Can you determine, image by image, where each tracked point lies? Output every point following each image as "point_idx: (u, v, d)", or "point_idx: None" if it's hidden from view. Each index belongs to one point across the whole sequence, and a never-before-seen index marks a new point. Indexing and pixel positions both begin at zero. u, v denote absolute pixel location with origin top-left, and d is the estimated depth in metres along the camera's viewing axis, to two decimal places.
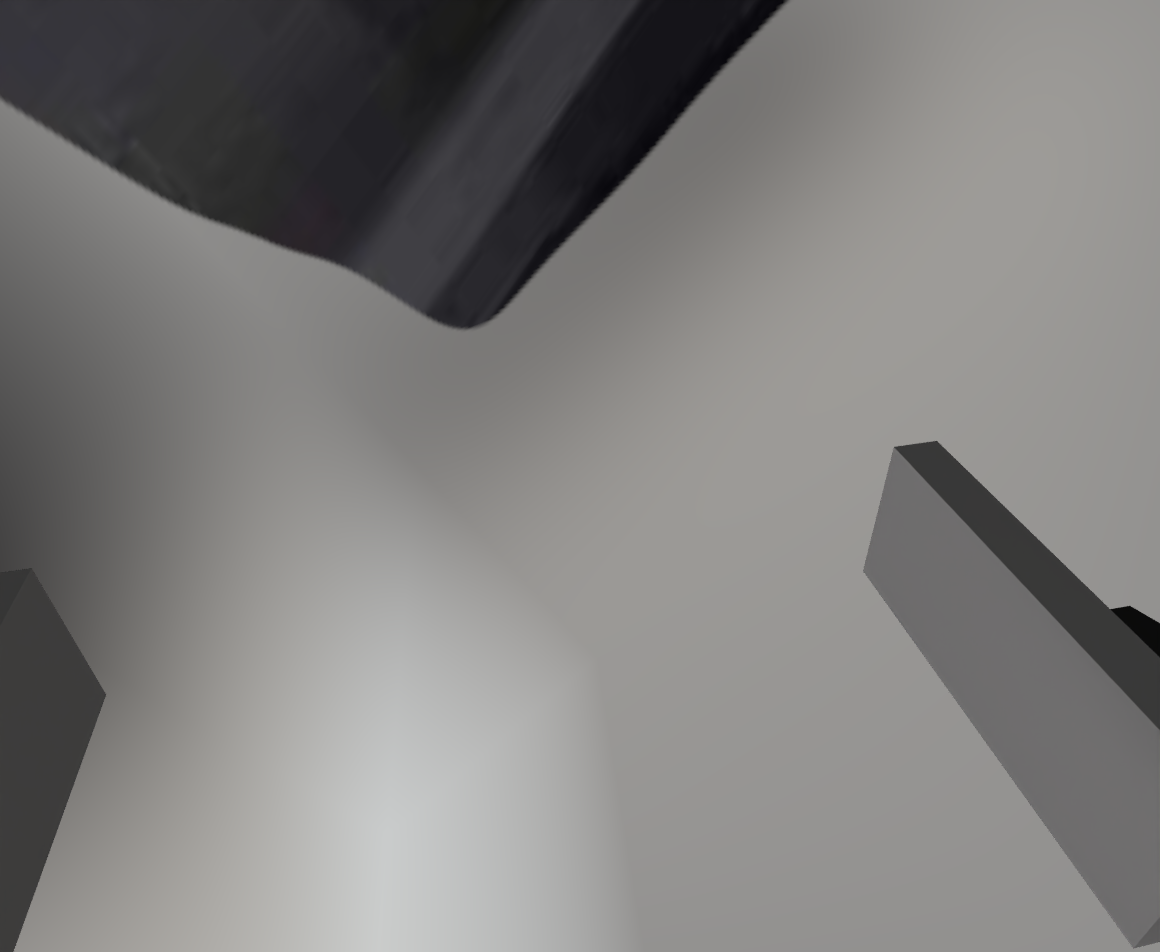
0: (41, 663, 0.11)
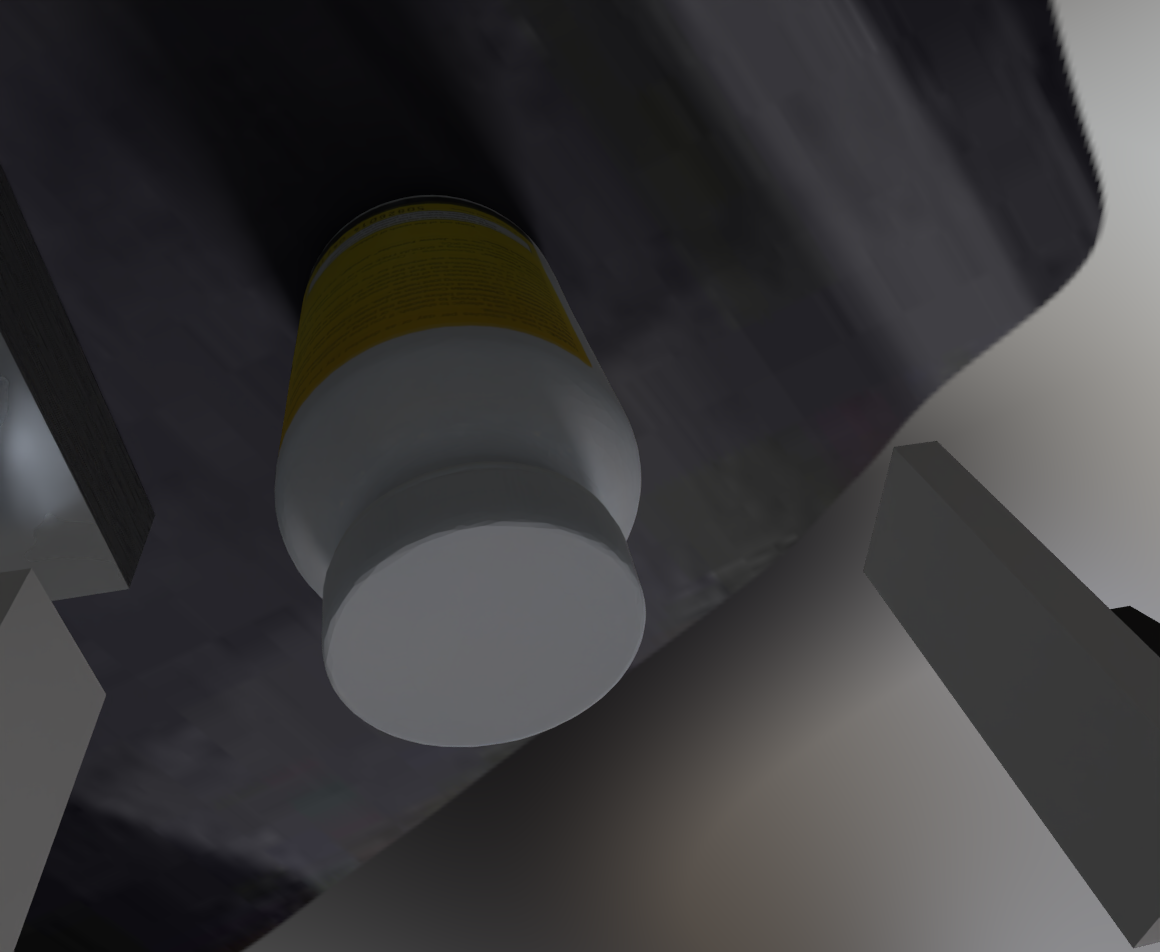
0: (41, 663, 0.11)
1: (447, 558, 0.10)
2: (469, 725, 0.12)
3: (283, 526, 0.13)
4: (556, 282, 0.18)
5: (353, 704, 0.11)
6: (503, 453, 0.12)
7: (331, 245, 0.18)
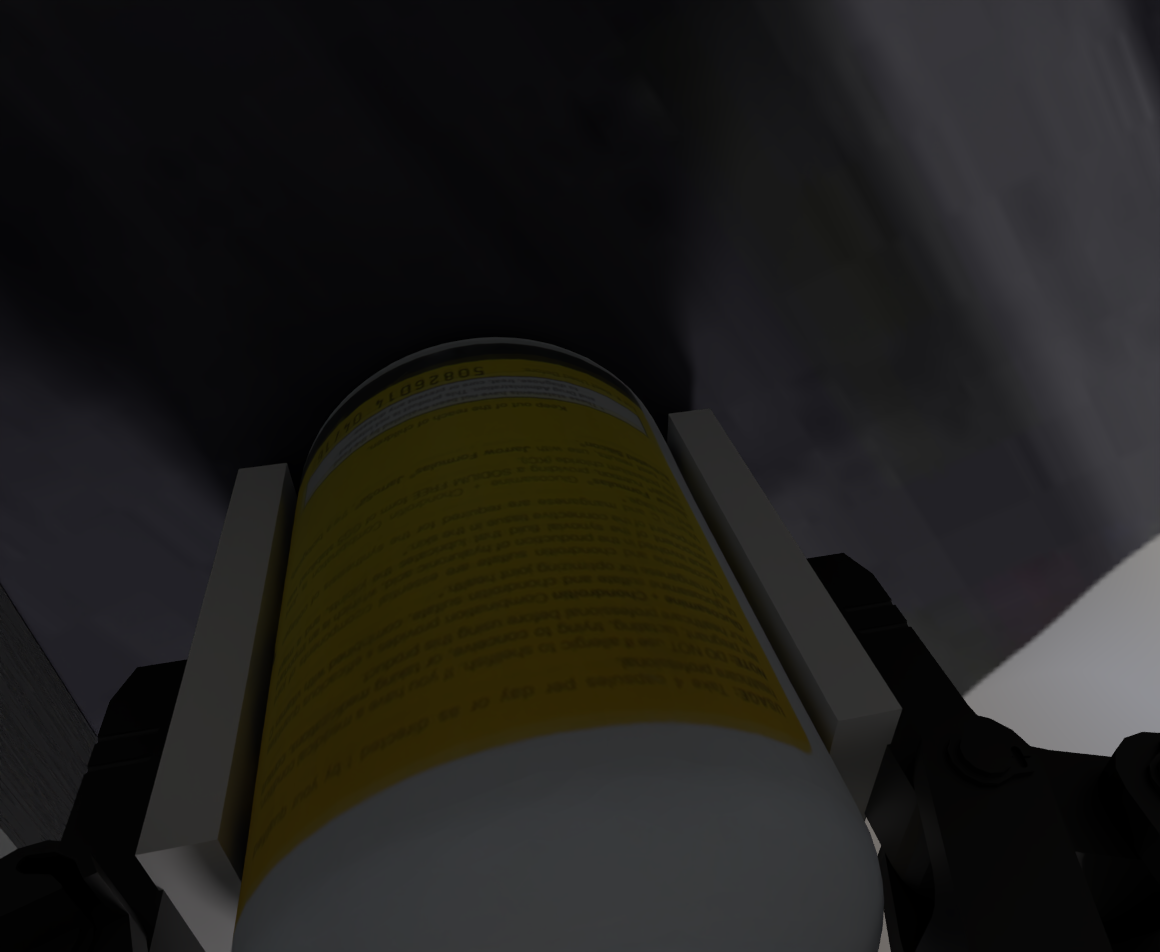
0: None
1: None
2: None
3: None
4: (680, 473, 0.12)
5: None
6: None
7: (341, 420, 0.12)
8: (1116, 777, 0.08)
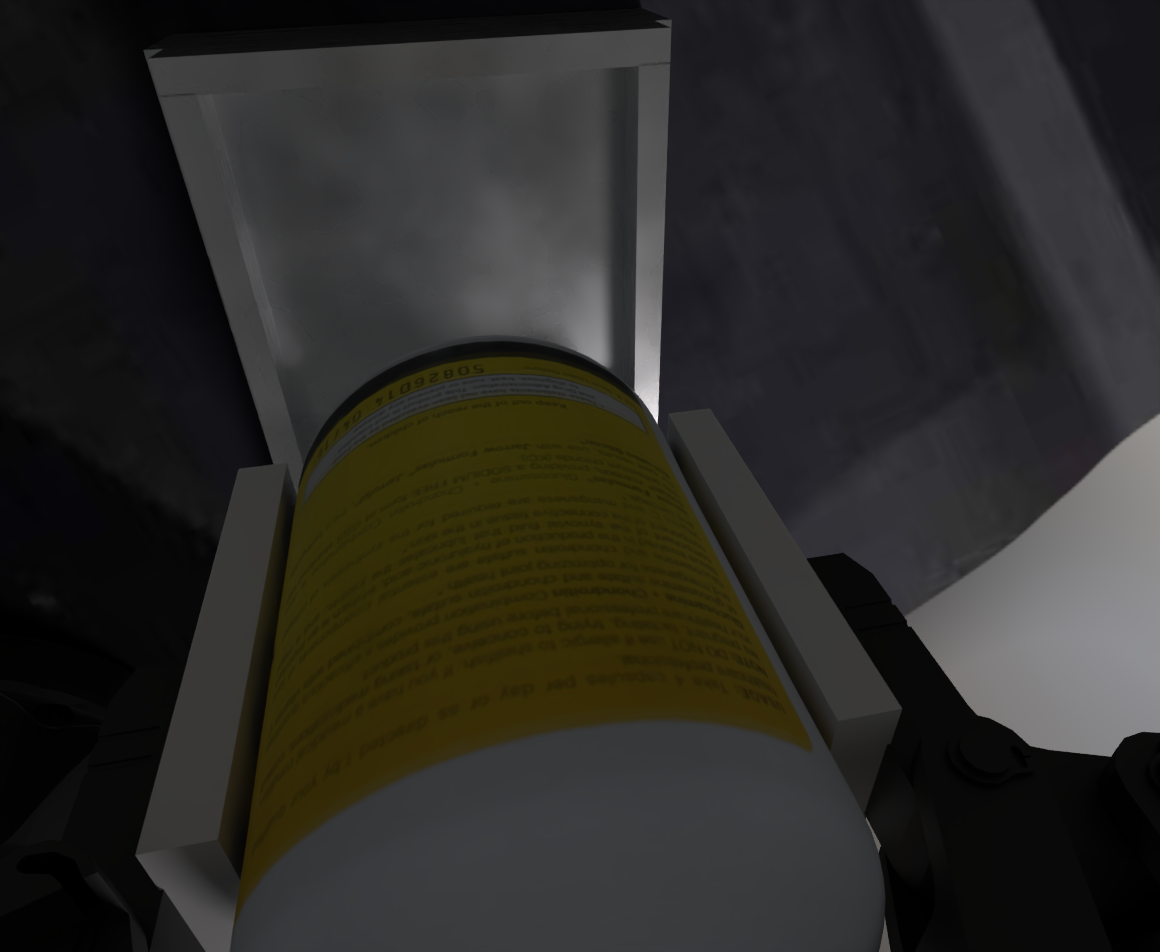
0: None
1: None
2: None
3: None
4: (680, 471, 0.12)
5: None
6: None
7: (340, 418, 0.12)
8: (1116, 777, 0.08)
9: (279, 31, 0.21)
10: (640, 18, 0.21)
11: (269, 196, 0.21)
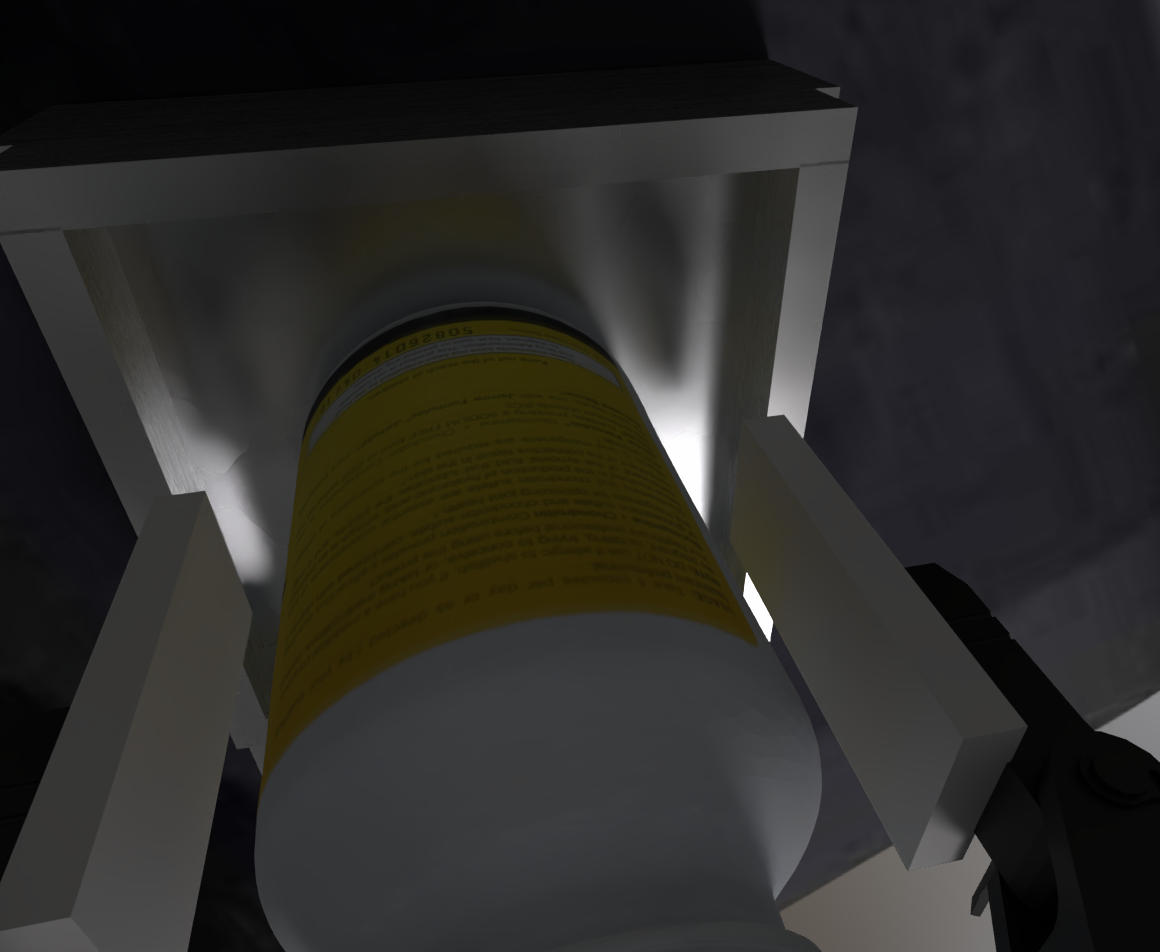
0: (215, 574, 0.12)
1: None
2: None
3: (268, 917, 0.08)
4: (652, 425, 0.13)
5: None
6: (648, 870, 0.07)
7: (341, 377, 0.13)
8: None
9: (219, 102, 0.13)
10: (787, 83, 0.13)
11: (204, 359, 0.14)
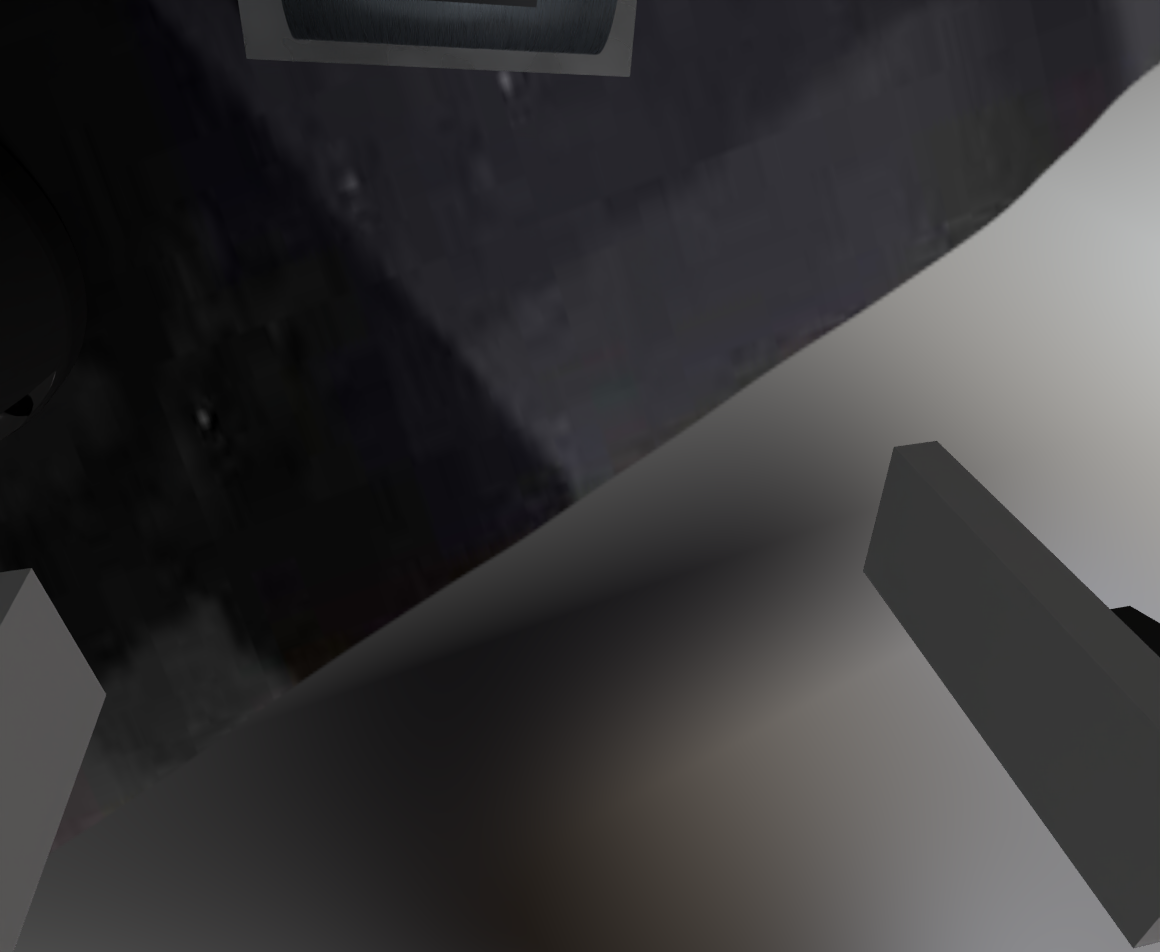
0: (41, 663, 0.11)
1: None
2: None
3: None
4: None
5: None
6: None
7: None
8: None
9: None
10: None
11: None
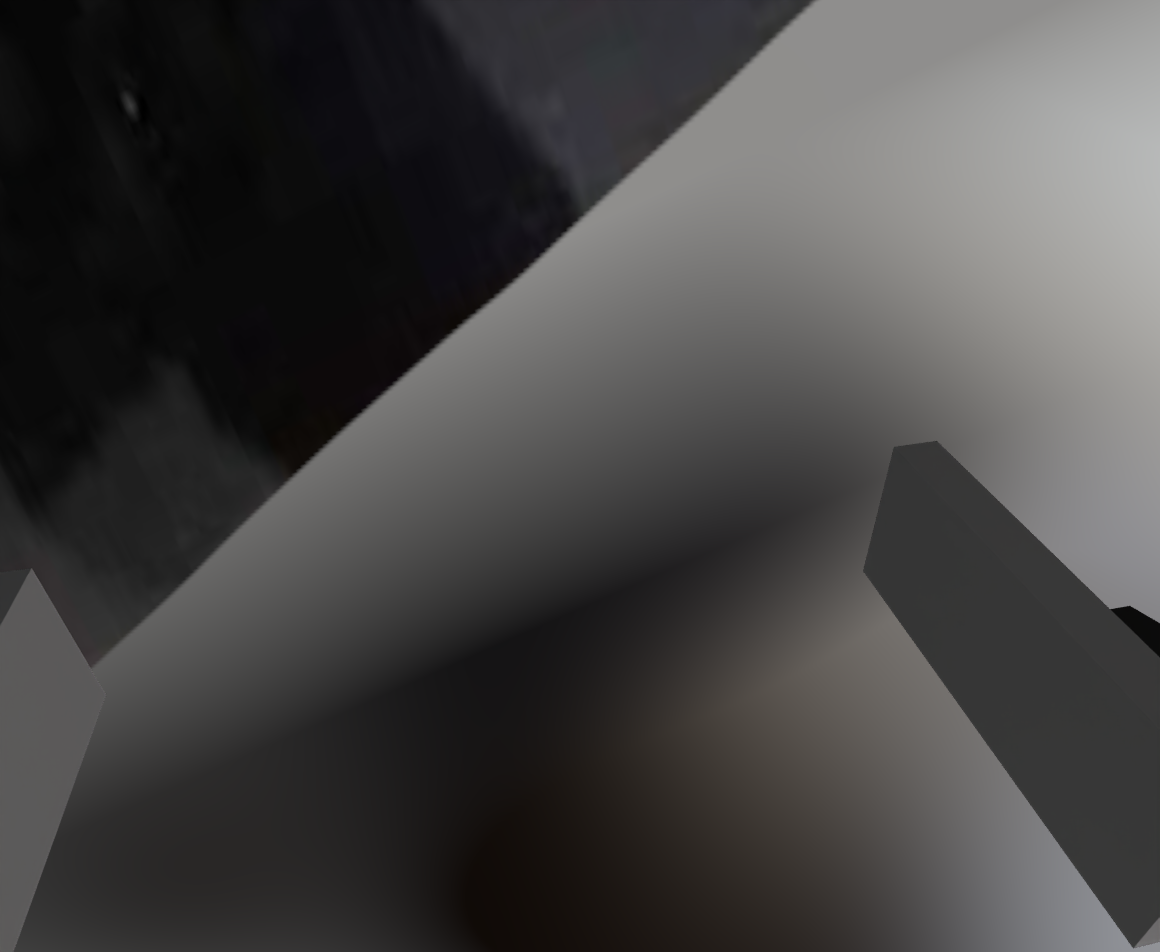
0: (41, 663, 0.11)
1: None
2: None
3: None
4: None
5: None
6: None
7: None
8: None
9: None
10: None
11: None
